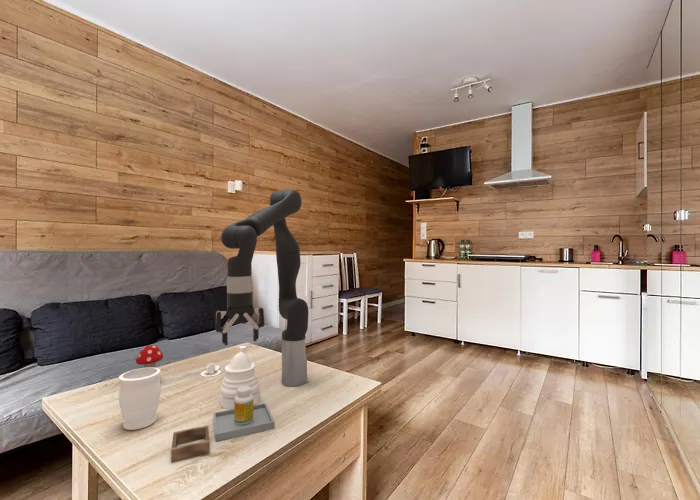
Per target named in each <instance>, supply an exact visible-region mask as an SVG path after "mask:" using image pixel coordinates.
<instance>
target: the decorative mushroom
mask: <svg viewBox="0 0 700 500" xmlns="http://www.w3.org/2000/svg"><path fill="white" fill-rule="evenodd" d="M163 358H164V354H163V352H162V351H161V349H160V348H159V346H157V345H155V344H150V345H147V346H144V347H143V348H142V349H141V350H140V352H139V354H138V355H137V357H136V359H135V362H136V365H142V366H143V368H149V367H152V368H156V363H157V362H160V361H161V360H163Z"/></svg>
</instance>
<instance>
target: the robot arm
mask: <svg viewBox="0 0 700 500" xmlns="http://www.w3.org/2000/svg"><path fill="white" fill-rule="evenodd" d="M302 203H303V200H302V196H301V194H300V193H299V191H297V190H295V189H283V190H276V191H275V190H274V191H273V192H272V193H271V194H270V197H269V206H266V207H263V208H261V209H258V210H257V211H255V212H253V213H252V214H250V215H249V216H248V217H246V218H244V219H241V220H239V221H236V222H234V223H232V224H231V223H230V224H229V225H227V226H226V227H225V228H224V229H223V231H221V232H222V233H221V236H220V238H221V239H220V240H221V243H222V244H223V246H224V247H226V248H228V249H235V250H237V249H238V252H237V254H236V255H235V256H232V257H230V258H228V259H227V281H226V310H222V311H221V310H217V311H216V312H215V328H214V329H215V332H216V333H221V341H222V344H224V346H228V344H229V342H228V339H229V338H228V337H229V336H228V331H229V329H230V328H231V327H232V326H233V324H234V325H240V324H247V323H248V322H249V324H250V325H251V326H252V327H253V328H252V339H253V340H252V341H253V343H254V342H257V340H259V330H260V328H263V327H265V313H264V308H263V307H262V306H258V307H256V308H254V300H253V299H254V298H253V297H254V296H253V293H254V292H253V291H254V290H253V289H254V287H253V286H254V285H253V278H252V263H253V258H254V256H255V255H254V253H255V252H256V247H257V242H258V237H259V236H261V235H262V234H264V233H265V232H266V231H267V230H269V229H270V228H271V227H272V226H273V229H274V231H273V232H274V241H275V255H276V257H275V258H276V266H277V268H276V269H277V279H278V312H279V314H280V316H281V317H282V318H283V319H284V320H286V329H284V330H283V331H282V333H281V385H283V386H286V387H297V386H301V385H303V384H306V383H307V382H308V357H307V356H306V347H307V346H306V345H307V344H306V338H307V337H306V334H307V331H308V328H309V305H308V303H307V302H306V301H305V300H304V299H302V298H299V297H297V285H296V284H297V278H298V275H299V273H300V272H299V271H300V268H301V264H302V263H301V261H302V260H301V252H300V251H301V248H300V244H299V242H297V240H296V239H295V237H294V235H293V234H292V233H291V231H290V230H289V227H288V226H287V225H288V224H287V221H286V218H287V217H289V216H292V215H294V214H297V212H299V211H300V210H301V208H302ZM255 313H256V315H258V322H257V323H256V322H255V321H254V319H253V318H252V317H253V315H254V314H255ZM224 316H226V317H227V318H228V319H227V321H226V322H225V323H224V325H223V327H222V326H221V322H222V321H221V320H222V319H223V318H224Z"/></svg>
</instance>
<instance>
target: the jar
mask: <svg viewBox="0 0 700 500" xmlns="http://www.w3.org/2000/svg"><path fill="white" fill-rule="evenodd" d="M161 372H162V371H161V369H160V368H158V367H155V368H152V367H149V368H144V367H141V368H135V369H131V370H129V371H126V372H124V373H122V374H120V375H119V376H118V380H119V382H120V385H119V391H118V403H119V408H120V414H121V417H122V419H123V421H124V422H123V425H122V427H123V429H124V430H128V431H133V430H134V431H136V430H141V429H144V428H146V427H149V426H151V425H153V424H155V422H156V421H157V420H158V419H157V416H156V413H157V411H158V408H159V403H160V397H161V393H162V391H161V380H160V375H161Z"/></svg>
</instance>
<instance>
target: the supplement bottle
mask: <svg viewBox="0 0 700 500" xmlns="http://www.w3.org/2000/svg"><path fill="white" fill-rule="evenodd" d="M252 420H253V395H252V394H251V387H249V386H242V387H239V388H238V389H237V396H236V397H235V400H234V422H235V423H236V424H237V425H245V424H248V423H250V422H251V421H252Z"/></svg>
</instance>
